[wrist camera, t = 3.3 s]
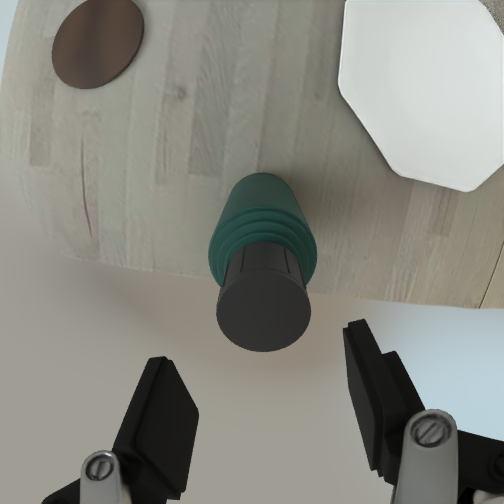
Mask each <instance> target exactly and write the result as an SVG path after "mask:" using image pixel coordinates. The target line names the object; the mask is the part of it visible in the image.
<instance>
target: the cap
mask: <svg viewBox="0 0 504 504" xmlns="http://www.w3.org/2000/svg"><path fill="white" fill-rule="evenodd" d="M306 289H307V288H306V284H305V280H304V277H303V273H302V269H301V266H300V262H299V261H298V260H297V259H296V257H295V256H294V255H293V254H292V253H291V252H290V251H289V250H288V249H287V248H286V247H283V246H281V245H279V244H276V243H273V242H266V241H262V242H254V243H250V244H247V245H245V246H243V247H242V248H240V249H239V250H237V251H236V252H235V253H234V254H233V255H232V256H231V258H230V259H228V262H227V266H226V269H225V273H224V277H223V280H222V284H221V289H220V293H219V297H218V302H217V309H216V311H217V312H216V316H217V321H218V324H219V326H220V329H221V330H222V332H223V333H224V335H225V336H226V337H227V338H228V339H229V340H230V341H231V342H233V343H234V344H236V345H238V346H240V347H242V348H244V349H247V350H250V351H256V352H270V351H276V350H280V349H282V348H285V347H287V346H289V345H291V344H292V343H294V342H295V341H296V340H298V339H299V337H301V336H302V335H303V333H304V332H305V330H306V328H307V326H308V324H309V322H310V317H311V306H310V302H309V298H308V294H307V290H306Z"/></svg>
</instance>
